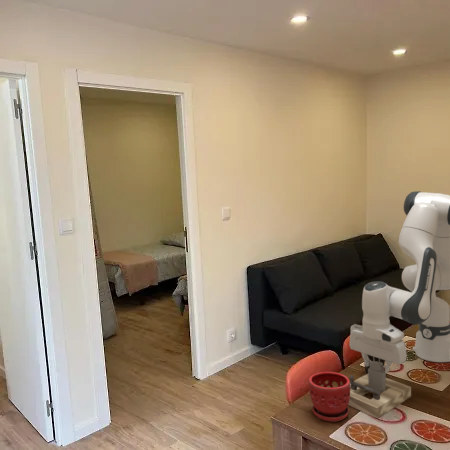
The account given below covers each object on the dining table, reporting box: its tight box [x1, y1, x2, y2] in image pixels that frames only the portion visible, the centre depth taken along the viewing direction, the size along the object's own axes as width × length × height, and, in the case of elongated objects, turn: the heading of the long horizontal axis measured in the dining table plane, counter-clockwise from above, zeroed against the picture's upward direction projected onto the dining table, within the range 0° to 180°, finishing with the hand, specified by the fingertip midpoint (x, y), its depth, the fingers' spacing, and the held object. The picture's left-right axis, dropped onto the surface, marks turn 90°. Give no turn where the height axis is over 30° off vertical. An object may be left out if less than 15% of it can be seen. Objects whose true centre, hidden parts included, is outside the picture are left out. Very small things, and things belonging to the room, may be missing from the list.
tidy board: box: [348, 373, 412, 419], centre depth 155 cm, size 20×16×8 cm
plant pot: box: [308, 371, 350, 422], centre depth 147 cm, size 13×13×12 cm
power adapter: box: [368, 356, 387, 392], centre depth 155 cm, size 3×5×12 cm, turn 57°
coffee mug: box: [363, 355, 386, 375], centre depth 174 cm, size 12×9×10 cm
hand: (376, 368), depth 155 cm, fingers closed on power adapter, 6 cm apart
